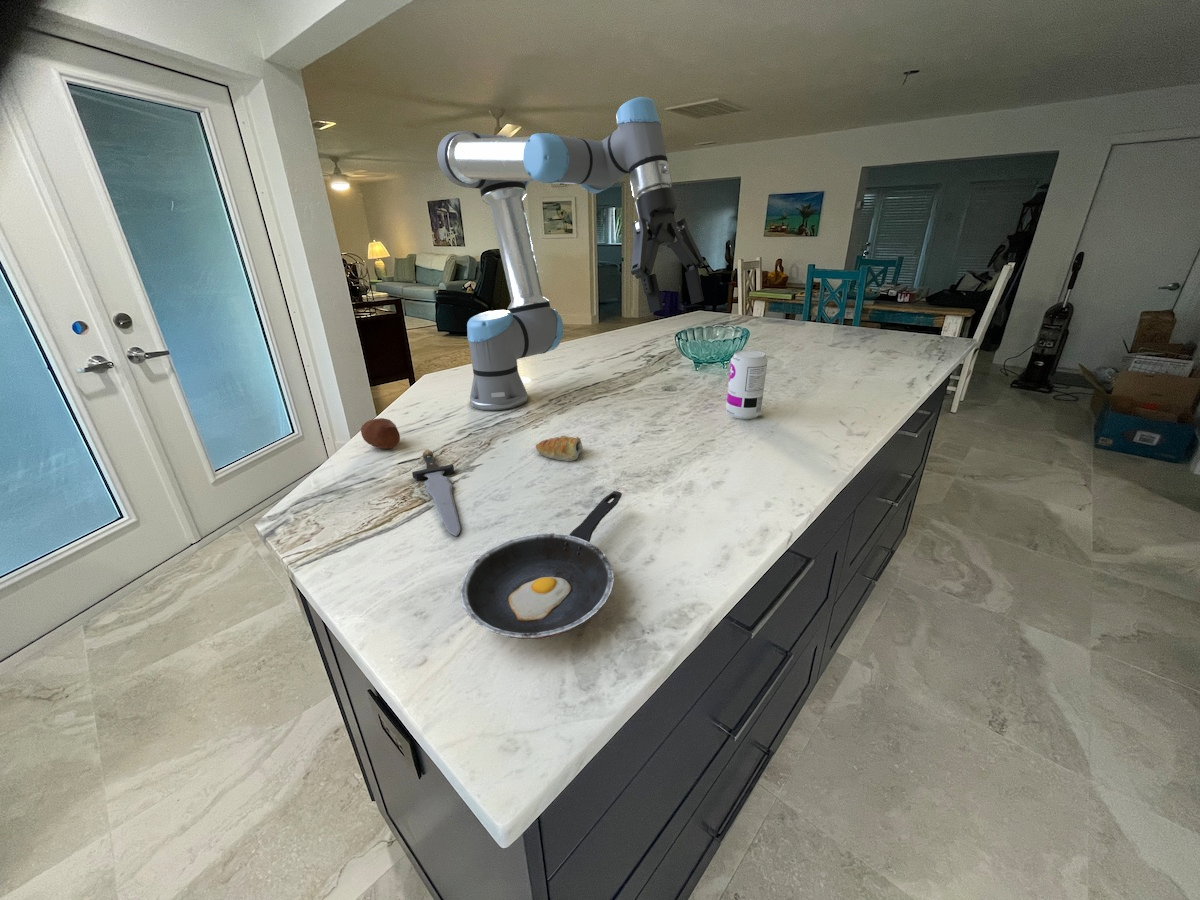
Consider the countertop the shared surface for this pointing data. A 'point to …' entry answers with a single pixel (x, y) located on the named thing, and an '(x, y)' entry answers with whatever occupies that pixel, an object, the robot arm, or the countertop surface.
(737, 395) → the supplement can
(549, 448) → the pastry
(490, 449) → the countertop surface
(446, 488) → the dagger
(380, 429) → the potato
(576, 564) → the frying pan
